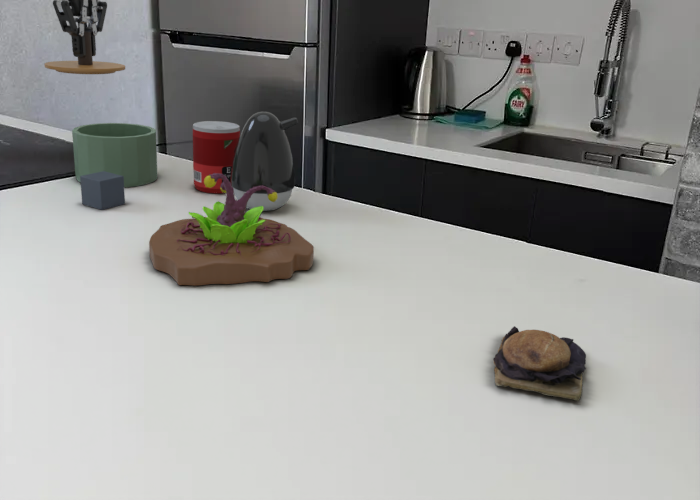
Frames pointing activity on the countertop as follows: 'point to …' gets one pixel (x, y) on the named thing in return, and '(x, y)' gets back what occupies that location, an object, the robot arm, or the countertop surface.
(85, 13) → the robot arm
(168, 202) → the countertop surface
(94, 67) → the lid
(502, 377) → the toy sandwich
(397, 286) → the countertop surface
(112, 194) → the block
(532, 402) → the countertop surface
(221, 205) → the plant
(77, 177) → the tin
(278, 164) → the pump dispenser
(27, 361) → the countertop surface
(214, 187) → the canned food
